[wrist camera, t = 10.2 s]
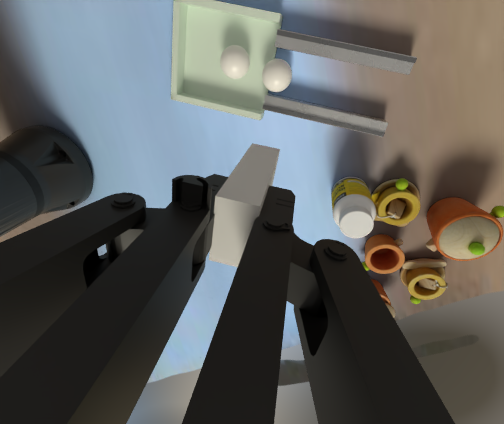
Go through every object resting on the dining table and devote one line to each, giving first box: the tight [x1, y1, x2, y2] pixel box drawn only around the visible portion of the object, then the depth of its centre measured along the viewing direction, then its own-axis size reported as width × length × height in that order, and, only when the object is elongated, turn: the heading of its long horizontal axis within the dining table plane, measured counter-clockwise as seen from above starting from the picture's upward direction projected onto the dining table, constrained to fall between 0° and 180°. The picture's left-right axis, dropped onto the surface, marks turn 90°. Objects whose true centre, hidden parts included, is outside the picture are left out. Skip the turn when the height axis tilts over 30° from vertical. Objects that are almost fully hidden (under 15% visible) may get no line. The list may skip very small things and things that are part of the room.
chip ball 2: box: [262, 59, 292, 92], centre depth 35 cm, size 4×4×4 cm
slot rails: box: [262, 29, 417, 137], centre depth 34 cm, size 16×9×2 cm, turn 79°
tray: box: [171, 0, 283, 120], centre depth 36 cm, size 13×12×2 cm
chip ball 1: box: [220, 45, 250, 79], centre depth 35 cm, size 4×4×4 cm
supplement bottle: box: [332, 177, 376, 238], centre depth 38 cm, size 5×5×10 cm
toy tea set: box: [362, 178, 504, 318], centre depth 41 cm, size 26×16×10 cm, turn 179°
